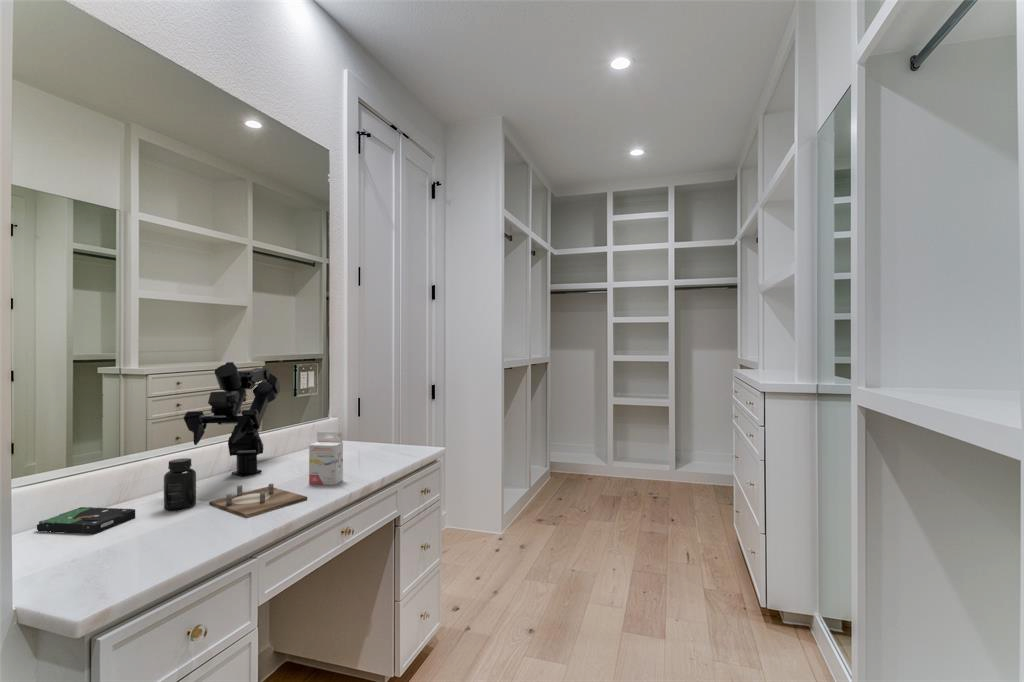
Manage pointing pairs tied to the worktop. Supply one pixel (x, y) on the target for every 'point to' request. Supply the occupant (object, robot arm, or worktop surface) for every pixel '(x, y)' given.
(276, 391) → the robot arm
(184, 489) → the supplement bottle
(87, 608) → the worktop surface
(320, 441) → the ink cartridge box
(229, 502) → the plate
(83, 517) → the disk drive
